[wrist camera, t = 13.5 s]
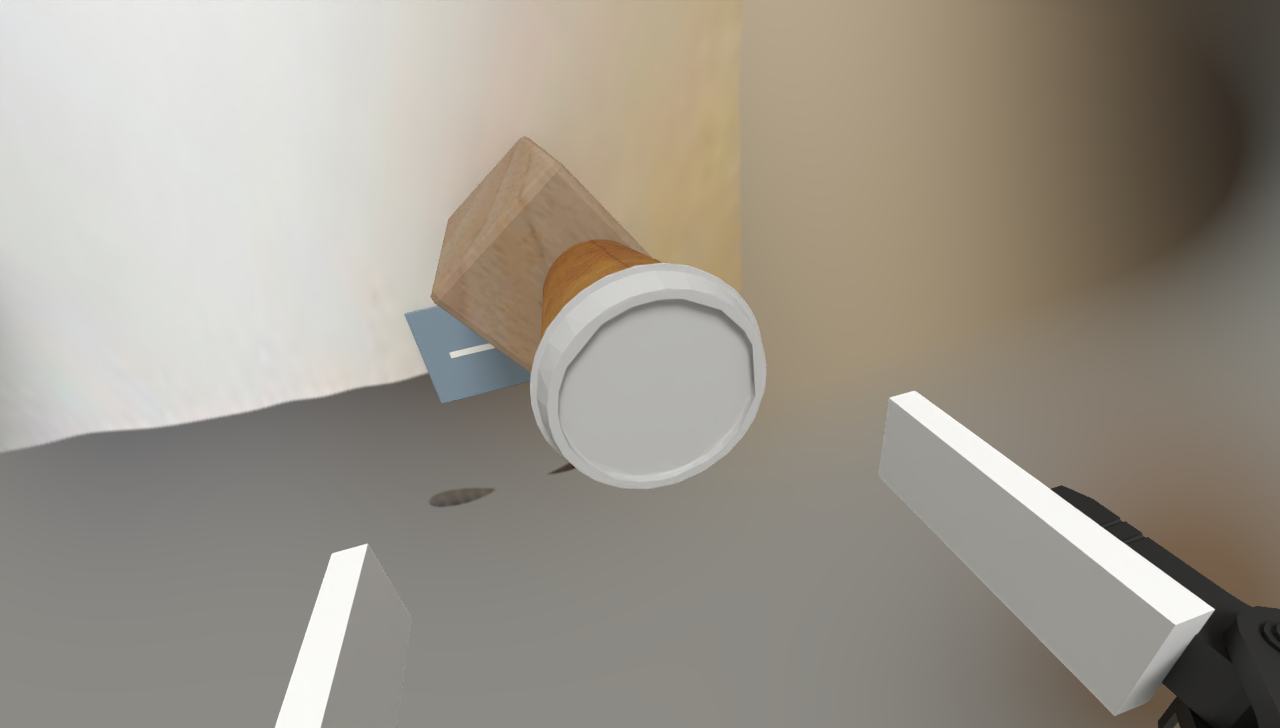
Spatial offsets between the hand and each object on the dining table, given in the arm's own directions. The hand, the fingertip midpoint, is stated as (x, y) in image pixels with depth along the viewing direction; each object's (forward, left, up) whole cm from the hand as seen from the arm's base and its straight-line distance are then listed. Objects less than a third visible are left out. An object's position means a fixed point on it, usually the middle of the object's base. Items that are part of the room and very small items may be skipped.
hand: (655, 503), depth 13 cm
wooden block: (-1, -1, -38) cm, 38 cm away
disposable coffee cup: (+2, -2, -19) cm, 19 cm away
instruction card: (-5, -12, -38) cm, 41 cm away
